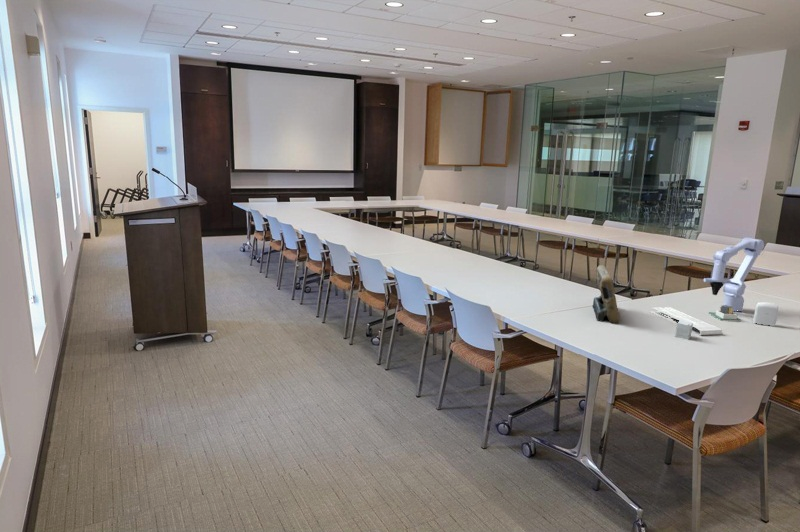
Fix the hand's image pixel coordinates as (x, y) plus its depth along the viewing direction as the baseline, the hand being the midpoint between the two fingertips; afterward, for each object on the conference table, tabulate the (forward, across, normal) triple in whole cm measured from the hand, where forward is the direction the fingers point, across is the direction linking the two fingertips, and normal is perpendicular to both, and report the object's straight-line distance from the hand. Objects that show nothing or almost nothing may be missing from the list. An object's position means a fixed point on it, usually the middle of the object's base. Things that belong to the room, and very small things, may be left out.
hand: (714, 294), depth 301 cm
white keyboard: (+11, +28, +23) cm, 38 cm away
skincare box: (+11, +40, +46) cm, 62 cm away
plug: (+9, -1, +12) cm, 15 cm away
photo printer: (+11, -17, +20) cm, 28 cm away
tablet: (+11, +67, +14) cm, 69 cm away
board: (+10, -2, +10) cm, 14 cm away
